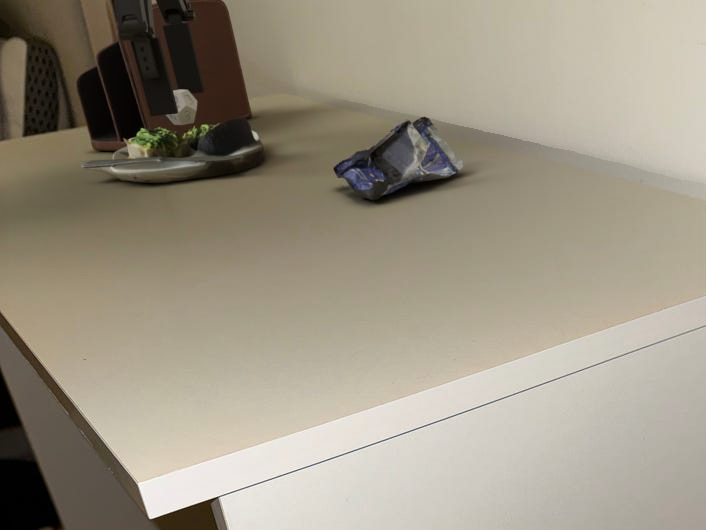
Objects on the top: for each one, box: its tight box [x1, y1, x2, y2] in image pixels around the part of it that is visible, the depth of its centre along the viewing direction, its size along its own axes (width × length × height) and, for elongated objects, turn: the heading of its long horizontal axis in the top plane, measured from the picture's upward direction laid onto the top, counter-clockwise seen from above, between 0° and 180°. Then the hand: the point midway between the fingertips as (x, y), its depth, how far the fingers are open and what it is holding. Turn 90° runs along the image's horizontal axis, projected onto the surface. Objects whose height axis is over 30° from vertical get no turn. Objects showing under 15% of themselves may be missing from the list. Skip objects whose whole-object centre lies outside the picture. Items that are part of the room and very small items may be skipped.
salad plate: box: [81, 118, 265, 184], centre depth 101 cm, size 19×18×5 cm
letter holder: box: [74, 0, 253, 152], centre depth 114 cm, size 10×20×14 cm, turn 155°
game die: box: [166, 90, 197, 125], centre depth 99 cm, size 4×4×3 cm
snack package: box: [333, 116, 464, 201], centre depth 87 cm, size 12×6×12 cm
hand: (179, 103), depth 99 cm, fingers open, 12 cm apart
